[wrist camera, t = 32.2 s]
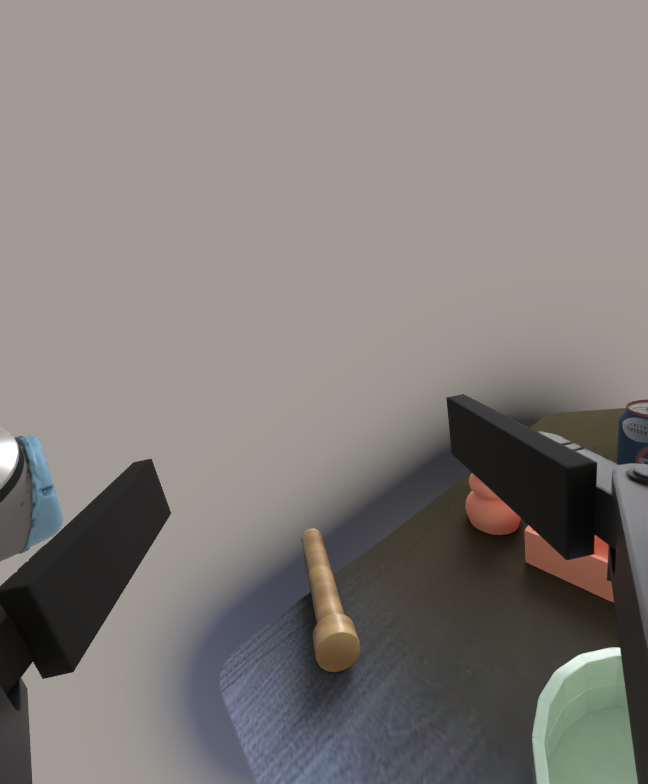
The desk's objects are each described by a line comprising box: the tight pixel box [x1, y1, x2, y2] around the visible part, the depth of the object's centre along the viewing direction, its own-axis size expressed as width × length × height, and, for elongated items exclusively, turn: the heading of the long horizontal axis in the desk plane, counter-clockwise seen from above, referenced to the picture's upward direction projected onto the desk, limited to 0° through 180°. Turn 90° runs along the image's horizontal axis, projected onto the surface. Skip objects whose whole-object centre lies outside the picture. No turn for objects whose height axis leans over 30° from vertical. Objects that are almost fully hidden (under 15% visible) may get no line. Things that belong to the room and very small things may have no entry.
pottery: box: [466, 473, 614, 603], centre depth 37 cm, size 18×10×10 cm, turn 38°
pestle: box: [301, 529, 360, 672], centre depth 37 cm, size 4×4×17 cm
